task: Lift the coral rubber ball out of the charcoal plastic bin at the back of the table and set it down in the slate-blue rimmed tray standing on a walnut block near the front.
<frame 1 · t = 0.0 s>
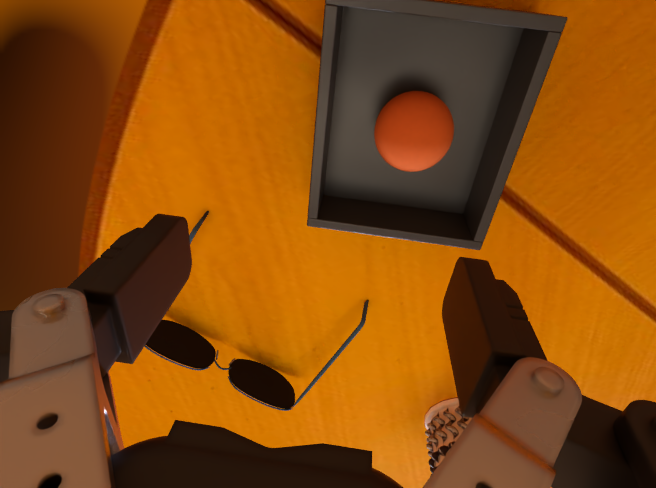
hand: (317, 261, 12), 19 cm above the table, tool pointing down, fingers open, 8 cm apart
decorative candle: (461, 419, 46), on the table
ball: (413, 132, 25), point 3 cm above the table, touching bin
bin: (410, 119, 28), on the table
sunglasses: (257, 305, 40), on the table
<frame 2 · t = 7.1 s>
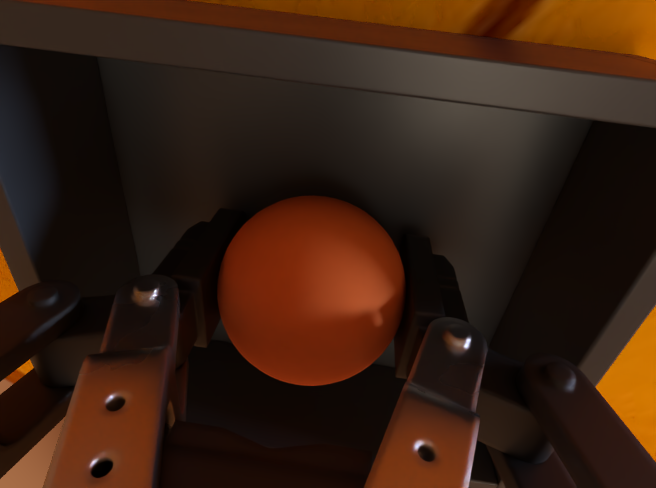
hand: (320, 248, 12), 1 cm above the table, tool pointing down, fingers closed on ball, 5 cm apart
ball: (312, 288, 11), point 3 cm above the table, touching bin, gripper
bin: (325, 229, 13), on the table
when the fingers open (13 cm above the table, at t = 14.8 s): ball stays where it is, resting on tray.
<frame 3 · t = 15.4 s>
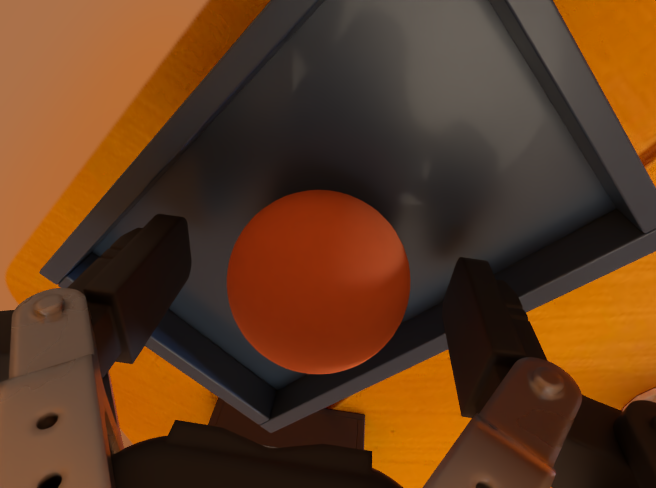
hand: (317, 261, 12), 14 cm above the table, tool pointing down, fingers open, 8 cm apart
ball: (319, 280, 11), point 15 cm above the table, touching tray
bin: (289, 438, 42), on the table
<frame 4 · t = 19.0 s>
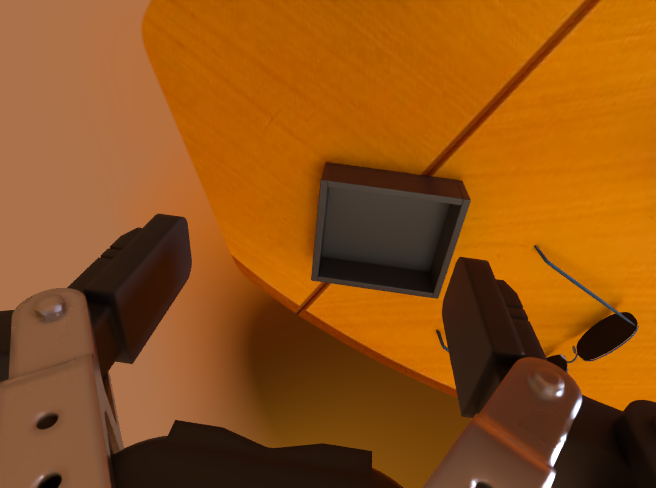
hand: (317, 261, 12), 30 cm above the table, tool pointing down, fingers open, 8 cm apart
bin: (383, 222, 45), on the table
sunglasses: (524, 317, 51), on the table
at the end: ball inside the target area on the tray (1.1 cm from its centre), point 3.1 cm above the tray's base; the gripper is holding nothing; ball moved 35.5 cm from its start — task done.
